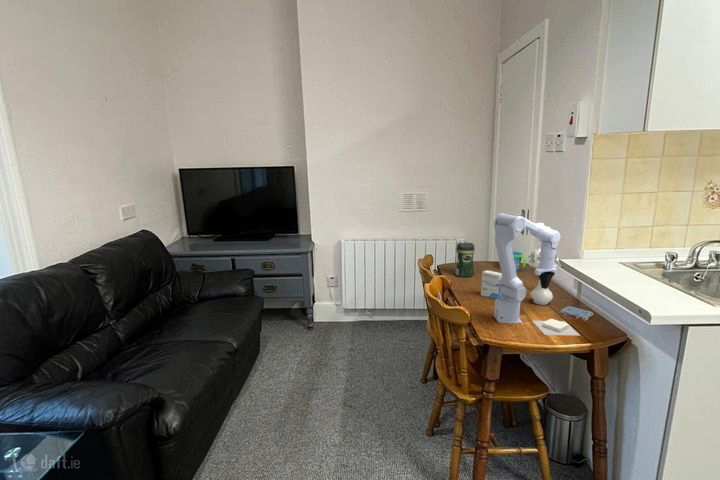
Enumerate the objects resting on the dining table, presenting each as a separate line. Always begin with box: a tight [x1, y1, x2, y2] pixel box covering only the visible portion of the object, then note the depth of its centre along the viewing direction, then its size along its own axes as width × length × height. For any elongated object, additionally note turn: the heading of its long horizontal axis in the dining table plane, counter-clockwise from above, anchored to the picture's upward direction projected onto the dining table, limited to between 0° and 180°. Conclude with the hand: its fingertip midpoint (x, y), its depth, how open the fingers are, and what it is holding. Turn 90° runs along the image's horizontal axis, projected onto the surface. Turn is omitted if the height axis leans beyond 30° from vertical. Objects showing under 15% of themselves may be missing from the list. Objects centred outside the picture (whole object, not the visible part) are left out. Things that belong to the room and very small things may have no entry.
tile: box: [542, 318, 570, 332], centre depth 156 cm, size 1×7×7 cm
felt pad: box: [532, 320, 581, 337], centre depth 156 cm, size 13×13×1 cm
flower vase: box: [527, 247, 562, 306], centre depth 181 cm, size 13×18×25 cm
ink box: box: [480, 270, 502, 300], centre depth 191 cm, size 8×5×12 cm, turn 47°
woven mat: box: [560, 305, 594, 322], centre depth 170 cm, size 10×11×2 cm
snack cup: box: [512, 250, 527, 272], centre depth 233 cm, size 16×10×10 cm
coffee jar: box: [455, 242, 476, 278], centre depth 222 cm, size 10×8×19 cm
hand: (544, 288), depth 171 cm, fingers closed
